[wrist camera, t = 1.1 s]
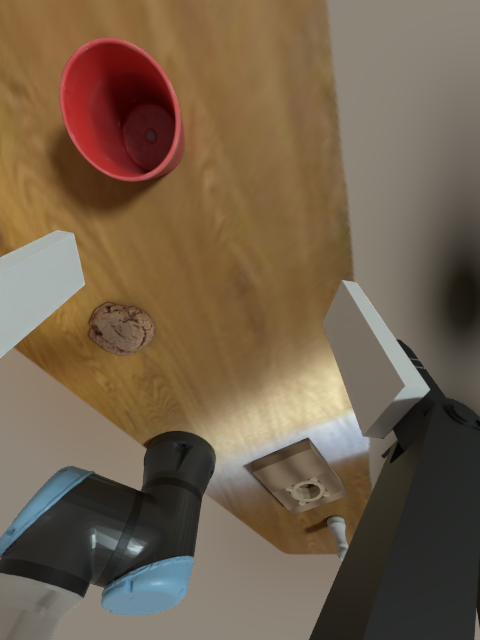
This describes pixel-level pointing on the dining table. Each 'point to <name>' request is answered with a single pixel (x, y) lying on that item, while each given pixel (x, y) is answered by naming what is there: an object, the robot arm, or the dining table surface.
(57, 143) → the dining table surface
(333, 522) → the rook chess piece
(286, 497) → the socket board
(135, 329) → the cookie
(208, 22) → the dining table surface
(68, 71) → the flower pot
